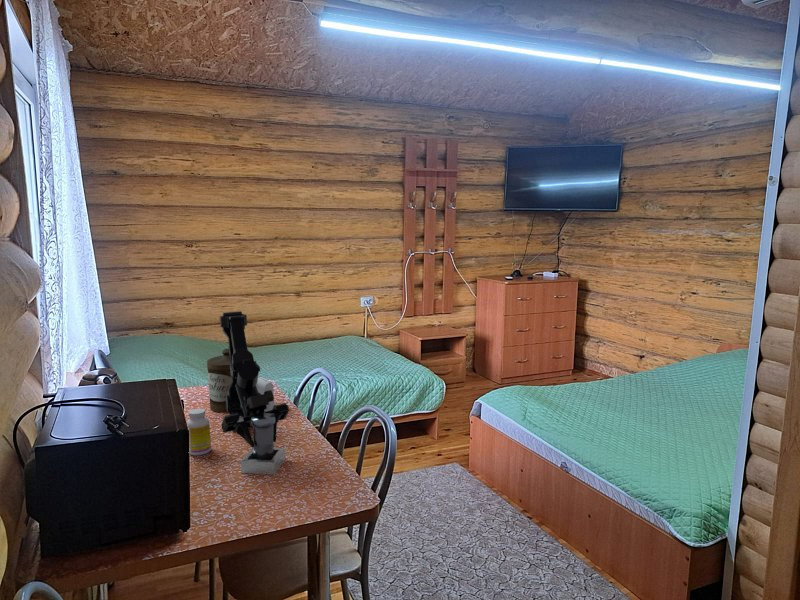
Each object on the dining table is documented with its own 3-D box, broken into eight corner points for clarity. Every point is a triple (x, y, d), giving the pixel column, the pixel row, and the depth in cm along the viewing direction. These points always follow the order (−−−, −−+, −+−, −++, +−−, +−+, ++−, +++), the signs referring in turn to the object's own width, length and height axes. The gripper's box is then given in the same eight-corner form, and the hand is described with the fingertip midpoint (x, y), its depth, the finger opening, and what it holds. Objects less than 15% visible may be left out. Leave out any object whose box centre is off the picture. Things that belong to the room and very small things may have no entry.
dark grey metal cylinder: (248, 470, 158) (247, 420, 156) (256, 459, 165) (256, 412, 163) (271, 471, 158) (270, 422, 155) (278, 461, 164) (278, 414, 162)
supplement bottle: (215, 451, 172) (212, 410, 170) (194, 458, 167) (191, 416, 165) (204, 445, 176) (201, 405, 174) (184, 451, 172) (181, 411, 170)
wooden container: (201, 410, 208) (197, 352, 204) (228, 397, 221) (224, 343, 218) (233, 415, 202) (230, 355, 199) (259, 402, 216) (256, 346, 212)
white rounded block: (250, 409, 208) (248, 376, 206) (259, 406, 211) (258, 374, 209) (266, 415, 201) (264, 382, 199) (276, 412, 204) (274, 379, 203)
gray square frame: (241, 473, 157) (240, 461, 157) (253, 458, 167) (253, 446, 166) (274, 474, 156) (274, 462, 156) (285, 459, 166) (284, 448, 165)
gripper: (221, 388, 156) (236, 439, 148) (285, 376, 166) (302, 423, 159) (215, 407, 163) (229, 457, 156) (276, 395, 174) (292, 441, 166)
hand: (264, 444), depth 159 cm, fingers closed on dark grey metal cylinder, 6 cm apart
